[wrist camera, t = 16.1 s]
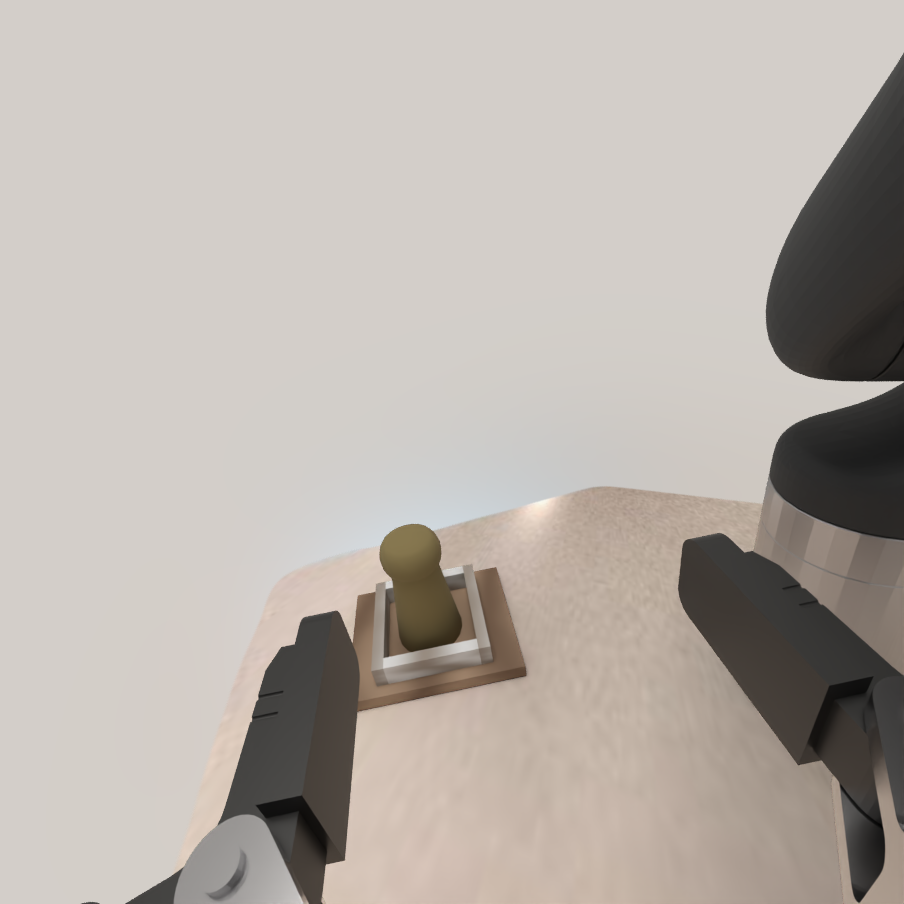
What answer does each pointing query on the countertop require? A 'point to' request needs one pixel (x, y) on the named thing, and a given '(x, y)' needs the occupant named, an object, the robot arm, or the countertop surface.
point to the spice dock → (440, 668)
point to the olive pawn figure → (420, 588)
